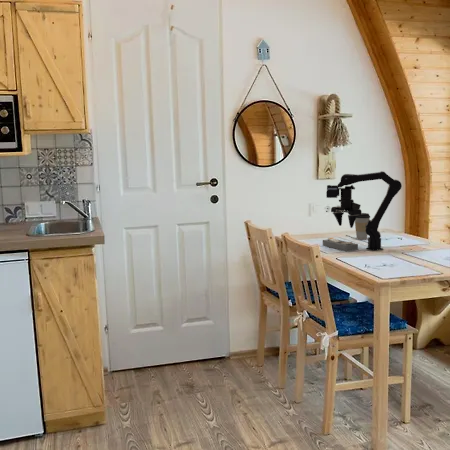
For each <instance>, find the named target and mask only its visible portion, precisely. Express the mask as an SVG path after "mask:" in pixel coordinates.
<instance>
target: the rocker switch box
mask: <svg viewBox="0 0 450 450" xmlns="http://www.w3.org/2000/svg"><path fill="white" fill-rule="evenodd" d="M338 240H339V241H340V242H332V241H329V240H328V239H322V246H323V247H327V248H331V247H332V248H331V249H335V250H336V249H337V250H339V251H343V252H350V251H351V252H352V251H357V250H359V244H358V243H354V242H352V244H341V243H342V242H347V241H345V240H342V239H338Z"/></svg>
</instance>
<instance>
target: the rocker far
mask: <svg viewBox="0 0 450 450" xmlns="http://www.w3.org/2000/svg"><path fill="white" fill-rule="evenodd" d="M327 240H329V241H332V242H340V241H339V240H340V239H337V238H335V237H327Z"/></svg>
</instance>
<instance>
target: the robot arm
mask: <svg viewBox="0 0 450 450" xmlns="http://www.w3.org/2000/svg"><path fill="white" fill-rule="evenodd" d="M376 180H381V181H383V182H385V183H386V184H387V190H386V195H385V196H384V197H383V200H382V202H381V204H380V205H379V207H378V208H377V210H376V213H375V214H374V216H373V217H372V218H371V219H369V220H368V222H367V224H366V225H365V227H366V228H365V230H366V233H367V239H368V240H367V247H365V249H366V250H370V251H374V252H375V251H380V250H381V251H382V250H384V247H382V238H381V237H382V235H381V232H380V231H379V226H380V223H381V221H382V218H383V216H384V215H385V213H386V212H387V210H388V208H389V206H390V204H391V202H392V200H393V199H394V197H395V196H396V195H398V193H399V192H400V190H402V182H401V181H400V180H399V179H394V178H392V177H391V176H390V175H388V174H387V173H386V172H385V171H384V170H383V171H382V170H381V171H378V172H370V173H363V174H362V173H361V174H352V173H345V174H342V175H341V177H340V182H339V183H337V185H335V184H334V185H331V184H328V185H326V193H325V194H326V198H328V199H335V198H336V199H337V198H338V197H340V199H338V202H339V203H340V205H339V206H332V207H331V208H330V212H331V213H332V214H333V216H334V217H335V219H336V222H337V224H338V226H342V224H343V223H342V222H343V215H344V214H345V213H347V214H348V215H347V217H348V222H349V223H348V224H349V227H350V228H351V229H353V228H354V226H355V220H356V218H357V217H358V216H360V215H361V214H362V213H363V212H362V210H361V204H359V203H356V202H354V199H352V194H353V193H352V192H353V190H355V189H356V187H355V186H354V185H353V184H355V183H359V182H360V183H361V182H367V181H376ZM368 236H369V237H368Z"/></svg>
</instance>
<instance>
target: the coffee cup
mask: <svg viewBox="0 0 450 450" xmlns="http://www.w3.org/2000/svg"><path fill="white" fill-rule="evenodd" d="M370 218H371V216H370V214H369V212H368V213H365V212H362V214H361V215H360V216H358V217H357V218H356V220H355V222H354V226H355V233H356V234H355V235H356V240H360V241H361V240H364V241H365V240H367V239H368V235H367V233H366V230H365V228H366V227H365V225H366V224H367V222H368V220H369V219H370ZM370 220H371V219H370Z"/></svg>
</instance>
